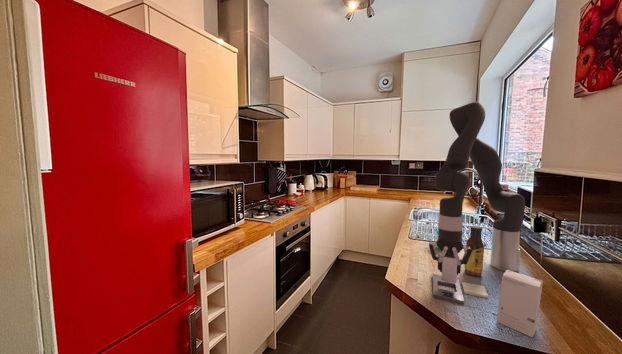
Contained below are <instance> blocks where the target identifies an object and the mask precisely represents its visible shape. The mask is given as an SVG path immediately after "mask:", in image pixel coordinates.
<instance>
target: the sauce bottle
mask: <svg viewBox="0 0 622 354" xmlns="http://www.w3.org/2000/svg"><path fill="white" fill-rule="evenodd" d="M469 228H470V229H469V230H470V234H469V238H468V239H467V240H466V245H465V247H470V248H471V250H472V253H471V255H470V258H469V260H468V262H467V264H466V265H465V264H464V266H463V267H464V272H465V274H467V275H470V276H474V277H481V276H482V275H483V272H484V271H483V269H484V257H485V255H484V254H485V246H484V242H483V240H482V232H483V227H481V226H478V225H471V226H470V227H469Z"/></svg>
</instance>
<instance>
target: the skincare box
mask: <svg viewBox="0 0 622 354" xmlns="http://www.w3.org/2000/svg"><path fill="white" fill-rule="evenodd" d="M501 277H502V278H501V285H500V292H499V300H498V308H497V309H498V310H497V317H496V322H497V323H498V324H501V325H503V326H506V327H508V328H509V329H512V330H515V331H516V332H519V333H522V334H523V335H526V336H528V337H530V338H533V337H534V335H535V333H536V330H537V326H538V319H539V313H540V312H539V311H540V304H541V297H542V290H543V283H544V281H543V280H541V279H538V278H534V277H533V276H532V277H531V276H529V275H526V274H523V273H519V272H517V271H515V272H513V271H510V270H506V271H504V273H503V274H502V276H501Z"/></svg>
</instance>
